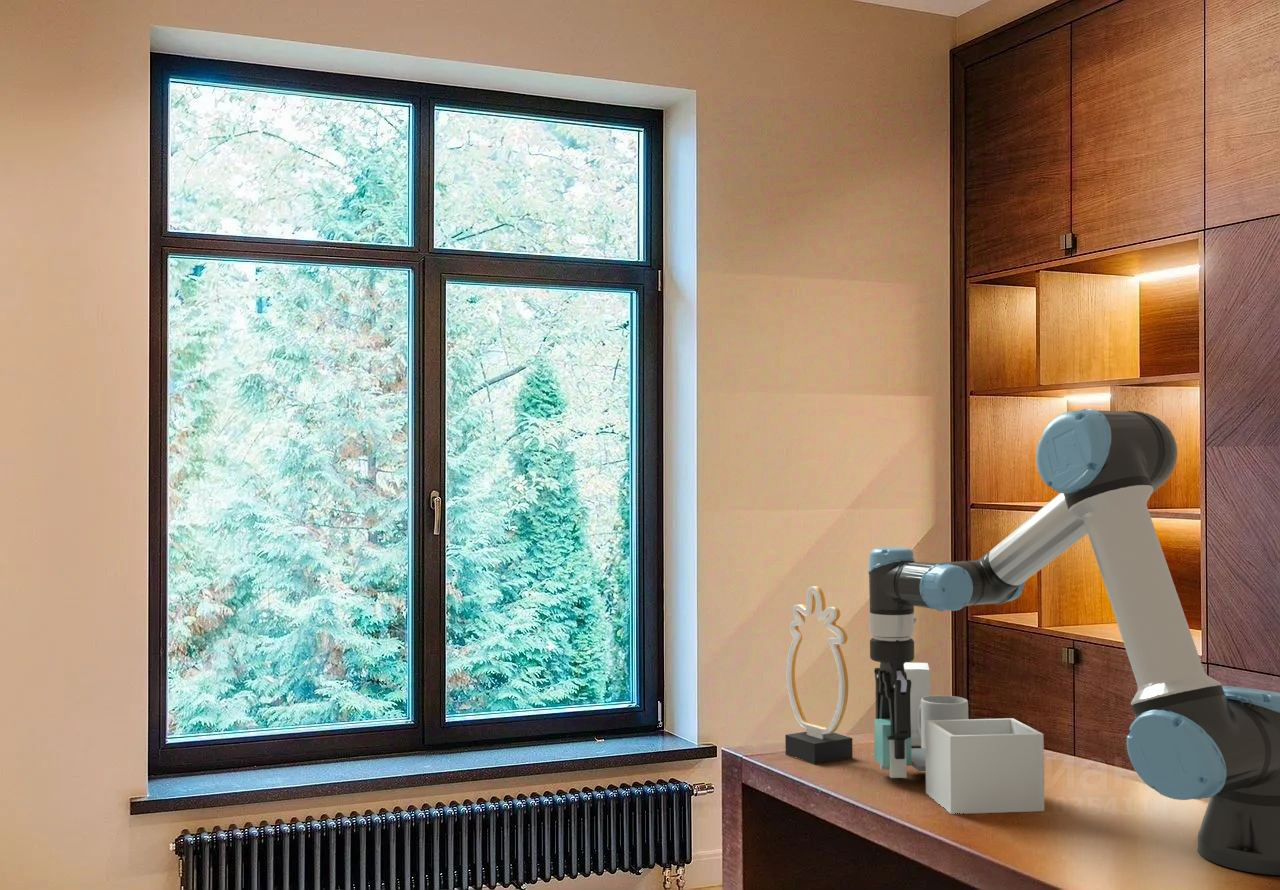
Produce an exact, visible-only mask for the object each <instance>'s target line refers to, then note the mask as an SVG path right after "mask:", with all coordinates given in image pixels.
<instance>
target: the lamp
mask: <svg viewBox="0 0 1280 890" xmlns="http://www.w3.org/2000/svg"><path fill="white" fill-rule="evenodd" d="M805 598H806V600H805V601H806V605H805V604H802V603H800V604H795V605H793V607H792V615H793V618H794V620H793V621H791V622H790V623H789V625H788V628H789V629H788V630H789V632H790V634H791V636H792V640H791V643H790V646H789V649H788V652H787V657H786V666H785V681H786V690H787V696H788V699H789V704H790V706H791V710H792V713H793V715H794V718H795V719H796V721H797V724H798V725H799V726H800V727H801V728H803V729H805V730H806V731H802V732H795V733H787V734H785V756H788V755H789V757H791V756H793V757H792V758H794V757H797V758H800V759H803V760H805V761H804V762H806V761H807V762H806V763H809V762H810V764H812V763H814V764H813V765H818V764H817V763H820V764H826V762H827V763H831V762H837V761H839V762H840V761H844V760H845V761H846V760H850V759H851V760H852V759H853V758H854V757H853V751H854V750H853V737H850V736H847V735H844V734H840V733H837V732H836V731H837V730H838V728H839V727H840V725H841V723H842V721H843V718H844V717H845V712H846V709H847V705H848V700H849V675H848V669H847V664H846V660H845V657H844V654H843V651H842V649H841V646H840V645H845V644H846V643H848V638H849V637H848V633H846V630H845V629H844V628H843V627H841V626H840V625H837V624H836V622H837V621H838V620H839V619H840V617H841V610H840V609H839V607H837V606H826V605H827V604H826V598H825V594H824V592H823V589H822V588H821V587H820V586H818V585H815V586H814V585H813V586H809V587H808V588H807V591H806V597H805ZM815 610H816V619H817V621H818V622H821V621H823V620H824V619H825V621H824V622H823V628H826V629H827V630H828V631H830V632H832V633H833V634H834V635H835V636H836V637H828V638H827V643H828V646H829V647H830V650H831V652H832V656H833V658H834V661H835V665H836V670H837V677H838V696H837V697H838V699H837V703H836V708H835V712H834V715H833V717H832V720H831V721H830V723H829V724H828V726H827V727H825V726H823V725H822V726H821V725H819V724H816V723H811V722H809V721H808V720H807V719H806V716H805V714H804V712H803V709H802V706H801V704H800V698H799V696H798V691H797V682H796V662H797V656H798V652H799V648H800V646H801V643H802V640H803V635H802V632H801V630H800V628H799V627H800V626H801V627H802V626H803V625H804V624H805V623H806V617H809V616H811V615H813V614H814V613H815ZM797 758H796V759H797ZM800 759H799V760H800ZM803 760H802V761H803Z"/></svg>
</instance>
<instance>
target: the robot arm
mask: <svg viewBox="0 0 1280 890" xmlns="http://www.w3.org/2000/svg"><path fill="white" fill-rule="evenodd" d="M1040 438H1041V439H1039V440H1038V443H1037V448H1036V456H1035V457H1036V458H1035V459H1036V460H1035V461H1036V466H1037V467H1036V468H1037V471H1038V474H1039V475H1040V479H1041V480H1042V481H1043V483H1045V485H1047V487H1050V488H1052V490H1053V491H1055V492H1057V493H1058V494H1057V495H1056V496H1055V497H1053V498H1052V499H1051V500H1049V502H1047V503H1046V504H1045V505H1043V506H1042V507H1041V508H1040V509H1038V511H1036V512H1035V513H1034V514H1033V515H1032V516H1030V517H1029V518H1028V519H1027V520H1025V521H1024V522H1023V523H1022V524H1021V525H1019V526H1018V527H1017V528H1016V529H1015V530H1013V531H1012V532H1011V533H1010V534H1009V535H1007V536H1006V537H1004V539H1002V540H1001V541H1000V542H999V543H998V544H996V545H995V546H994V547H992V549H990V550H989V551H987V553H985V554H983V556H981V557H980V558H979V559H976V560H961V561H948V562H946V561H945V562H923V561H915V559H914V558H915V557H914V552H913V550H912V549H911V548H907V547H876V548H874V549H871V552H870V553H869V565H868V571H867V573H868V582H869V583H868V584H869V586H868V589H869V593H868V595H869V612H868V613H869V618H868V619H869V620H868V621H869V622H868V624H869V625H868V626H869V628H868V629H869V633H868V634H870V636H872V637H871V638H870V640H869V658H870V659H871V661H874V662H878V663H880V664H879V667H875V668H874V670H873V672H874V679H875V719H890V724H891V736H887V738H888V740H889V747H890V766H882V765H881V764H879V769H880V770H882V771H883V770H885V771H886V770H889V777H890V779H899V778H903V779H906V778H907V777H908V776H907V766H906V739H907V738H910V737H911V714H910V691H911V680H907V675H906V672H905V670H904V663H912V662H913V661H914V659H915V640H913V638H911V637H913V636H914V635H915V630H914V629H915V625H914V624H916V623H917V620H918V619H917V617H915V615H914V614H915V607H918V608H926V609H931V610H936V611H940V612H943V611H947V612H948V611H950V612H951V611H952V612H955V611H956V612H957V611H960V610H962V609H963V608H964V607H969V606H979V605H980V606H981V605H991V604H992V605H1002V604H1005V603H1007V602H1012V601H1014V600H1017V599H1018V598H1020V596H1021V595H1022V593H1023V590H1024V588H1025V586H1026V581H1027V580H1029V579H1030V578H1032V577H1033V576H1034V575H1036V574H1037V573H1038V572H1039V571H1041V570H1042V569H1043V568H1044V567H1046V566H1047V565H1049V564H1050V563H1052V561H1054V560H1055V559H1057V558H1058V557H1059V556H1060V555H1062V554H1063V553H1064V552H1066V551H1067V550H1068V549H1070V548H1071V547H1072V546H1074V544H1076V543H1077V542H1079V541H1080V540H1081V539H1083V538H1084V537H1085V536H1087V535H1088V538H1089V541H1090V544H1091V547H1092V550H1093V554H1094V556H1095V560H1096V563H1097V565H1098V568H1099V572H1100V575H1101V578H1102V580H1103V584H1104V587H1105V590H1106V593H1107V597H1108V600H1109V601H1110V605H1111V608H1112V612H1113V614H1114V617H1115V620H1116V624H1117V627H1118V630H1119V633H1120V636H1121V639H1122V642H1123V645H1124V648H1125V652H1126V654H1127V658H1128V661H1129V664H1130V667H1131V670H1132V673H1133V675H1134V678H1135V682H1136V686H1137V691H1136V693H1135V695H1134V696H1133V699H1132V700H1131V702H1130V705H1131V707H1132V711H1133V714H1134V718H1135V719H1134V721H1132V723H1131V724H1130V726H1129V729H1128V730H1129V731H1130V732H1129V733H1128V735H1126V749H1127V754H1128V757H1129V760H1130V764H1131V765H1132V767H1133V768H1134V770H1135V773H1136V774H1137V775H1138V777H1140V779H1141V780H1142V781H1143V783H1145V785H1146V786H1148V787H1149V788H1151V789H1153V790H1154V791H1156V792H1157V793H1158V794H1160V795H1161V796H1164V797H1166V798H1169V799H1173V800H1178V801H1188V800H1202V799H1209V798H1210V799H1209V800H1208V804H1207V807H1206V809H1205V812H1204V816H1203V818H1202V821H1201V824H1200V828H1199V831H1198V832H1197V852H1198V854H1199V855H1200V856H1201V857H1203V858H1204V859H1206V860H1207V861H1209V862H1211V863H1214V864H1215V865H1219V866H1222V867H1226V868H1230V869H1233V870H1236V871H1237V870H1238V871H1242V872H1248V873H1252V874H1253V873H1254V874H1261V875H1270V876H1280V692H1278V691H1277V692H1276V691H1271V690H1265V689H1264V690H1263V689H1257V688H1256V689H1255V688H1249V687H1241V686H1230V685H1222V683H1221V682H1220V681H1218V680H1216V679H1214V678H1213V677H1211V676H1209V675H1208V674H1207V673H1206V672H1205V671H1204V668H1203V665H1202V662H1201V659H1200V656H1199V653H1198V650H1197V646H1196V645H1195V641H1194V639H1193V635H1192V633H1191V630H1190V626H1189V624H1188V621H1187V618H1186V616H1185V613H1184V610H1183V607H1182V604H1181V600H1180V598H1179V597H1180V596H1179V595H1178V592H1177V590H1176V589H1177V588H1176V586H1175V584H1174V581H1173V577H1172V574H1171V571H1170V569H1169V566H1168V563H1167V560H1166V557H1165V555H1164V551H1163V549H1162V545H1161V543H1160V539H1159V537H1158V534H1157V531H1156V528H1155V525H1154V523H1153V520H1152V517H1151V514H1150V511H1149V508H1148V505H1147V504H1148V501H1149V499H1150V498H1151V495H1152V494H1154V492H1155V491H1157V490H1158V489H1160V488H1161V486H1163V485H1164V484H1165V483H1166V481H1168V479H1169V478H1170V476H1171V475H1172V473H1173V471H1174V469H1175V467H1176V464H1177V459H1178V445H1177V442H1176V439H1175V436H1174V435H1173V432H1172V431H1171V429H1170V428H1169V427H1168V425H1166V424H1165V423H1164V421H1162V420H1161V419H1160V418H1158V417H1156V416H1155V415H1153V414H1150V413H1148V412H1147V413H1146V412H1144V411H1138V410H1137V411H1135V410H1126V411H1123V410H1122V411H1121V410H1097V409H1093V408H1083V409H1080V410H1070V411H1066V412H1063V413H1061V414H1059V415H1058V416H1055V417H1054V418H1053V419H1052V420H1051V421H1050V422H1048V424H1047V425H1046V426H1045V428H1044V429H1043V431H1042V435H1041V437H1040Z"/></svg>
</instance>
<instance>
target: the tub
mask: <svg viewBox="0 0 1280 890" xmlns="http://www.w3.org/2000/svg"><path fill="white" fill-rule="evenodd" d="M1044 742H1045V741H1044V733H1042V732H1040V731H1039V730H1038V729H1035V728H1032V727H1031V726H1029V725H1027V724H1025V723H1023V722H1021V721H1019V720H1017V719H1015V718H1013V717H1012V718H1011V717H1010V718H1007V717H1006V718H974V719H973V718H968V719H963V720H925V747H926V771H925V794H926V795H927V794H928V795H929V796H928V795H927V796H928V797H929V798H931V799H932V800H933V799H934V800H933V801H934V802H936V803H937V804H938V805H939V804H940V805H939V806H940V807H942V808H943V807H944V808H945V809H946V811H947V812H948V813H949V814H951V815H962V814H963V813H964V814H965V815H966V814H993V813H994V814H995V813H996V814H997V813H999V814H1000V813H1024V812H1025V813H1027V812H1028V813H1031V812H1045V759H1044V756H1045V753H1044V748H1045V745H1044ZM944 808H943V809H944ZM945 809H944V810H945ZM955 813H956V814H955ZM957 813H958V814H957ZM959 813H960V814H959ZM964 814H963V815H964Z"/></svg>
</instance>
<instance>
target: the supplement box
mask: <svg viewBox="0 0 1280 890" xmlns="http://www.w3.org/2000/svg"><path fill="white" fill-rule="evenodd" d="M904 670H905V672H906V675H907V680H911V691H910V714H911V747H920V748H921V735H920V733H919V729H918V720H917V718H918V709H919V706H920V705H921V699H922V698H923V697H926V696H931V670H930V666H929V663H928V662H906V663H904Z"/></svg>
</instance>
